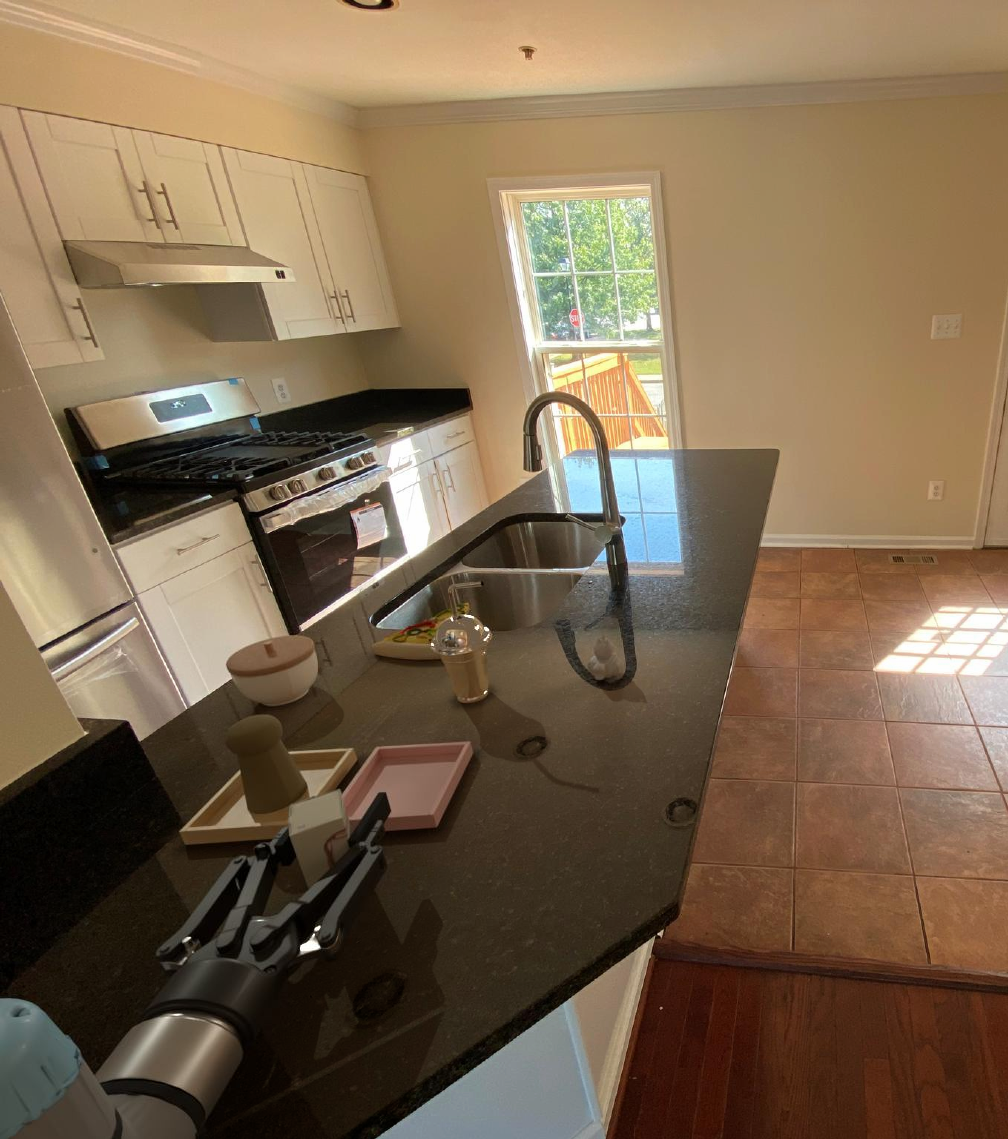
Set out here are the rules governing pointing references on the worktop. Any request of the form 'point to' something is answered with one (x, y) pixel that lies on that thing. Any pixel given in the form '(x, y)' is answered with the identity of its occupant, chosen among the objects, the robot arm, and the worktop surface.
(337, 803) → the white carton
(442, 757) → the pink tray
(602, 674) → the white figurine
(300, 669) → the trinket box
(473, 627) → the cup with straw
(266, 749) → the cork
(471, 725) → the worktop surface
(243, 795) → the birch tray
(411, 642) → the pizza slice
